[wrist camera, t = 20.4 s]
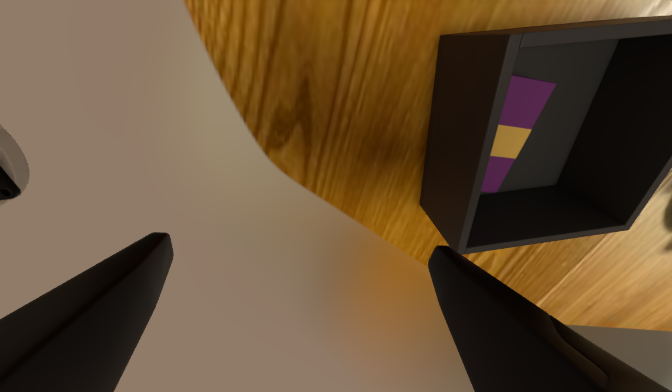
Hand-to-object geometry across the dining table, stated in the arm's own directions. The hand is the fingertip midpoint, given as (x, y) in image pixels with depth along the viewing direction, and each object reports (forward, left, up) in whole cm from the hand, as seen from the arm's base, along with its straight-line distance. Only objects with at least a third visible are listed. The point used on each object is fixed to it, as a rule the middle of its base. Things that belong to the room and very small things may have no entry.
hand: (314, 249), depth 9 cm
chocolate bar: (+13, -1, -11) cm, 18 cm away
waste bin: (+16, -1, -12) cm, 20 cm away
